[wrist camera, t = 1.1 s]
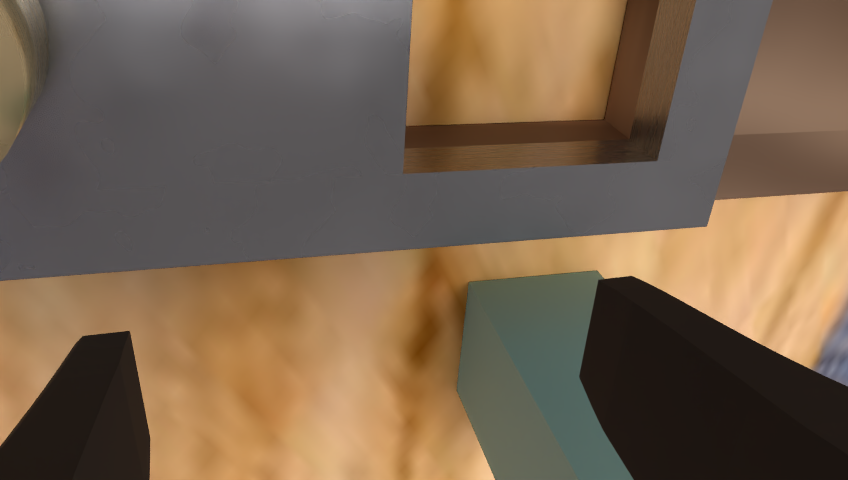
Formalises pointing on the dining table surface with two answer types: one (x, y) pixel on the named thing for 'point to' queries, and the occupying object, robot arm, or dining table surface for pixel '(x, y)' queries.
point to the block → (533, 379)
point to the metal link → (318, 137)
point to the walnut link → (760, 114)
